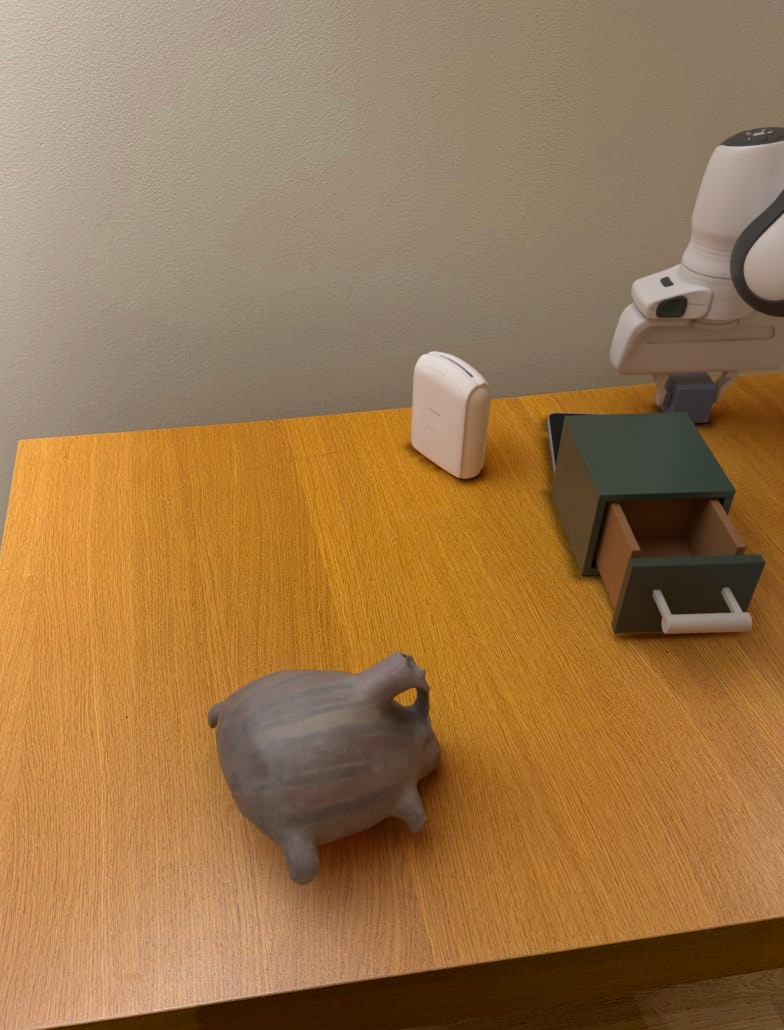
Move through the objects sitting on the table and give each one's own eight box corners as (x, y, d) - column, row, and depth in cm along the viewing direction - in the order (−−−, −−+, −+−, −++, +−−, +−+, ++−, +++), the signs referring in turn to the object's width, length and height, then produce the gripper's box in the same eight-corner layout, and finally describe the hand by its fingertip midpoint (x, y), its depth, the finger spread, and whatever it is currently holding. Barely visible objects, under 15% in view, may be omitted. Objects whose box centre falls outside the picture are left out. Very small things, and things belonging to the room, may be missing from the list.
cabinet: (708, 571, 91) (736, 490, 85) (581, 575, 91) (599, 495, 85) (664, 489, 102) (686, 411, 95) (550, 493, 102) (564, 415, 96)
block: (695, 404, 115) (705, 370, 112) (708, 422, 112) (718, 388, 108) (658, 405, 115) (667, 371, 112) (669, 424, 112) (679, 389, 108)
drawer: (760, 668, 80) (789, 600, 75) (629, 672, 80) (649, 605, 75) (691, 540, 94) (712, 475, 88) (579, 544, 94) (593, 479, 88)
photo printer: (404, 445, 110) (409, 348, 102) (433, 434, 112) (440, 338, 103) (459, 485, 104) (468, 384, 95) (488, 473, 105) (500, 373, 97)
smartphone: (555, 481, 102) (546, 412, 113) (554, 488, 103) (545, 418, 113) (624, 484, 101) (609, 414, 112) (622, 491, 102) (607, 420, 113)
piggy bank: (409, 678, 80) (462, 631, 67) (441, 866, 76) (505, 856, 62) (202, 699, 76) (215, 653, 63) (224, 897, 72) (243, 893, 59)
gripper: (799, 275, 105) (762, 386, 114) (618, 282, 105) (597, 392, 115) (822, 297, 100) (782, 411, 110) (633, 305, 101) (609, 418, 110)
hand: (686, 402), depth 112 cm, fingers closed on block, 4 cm apart
